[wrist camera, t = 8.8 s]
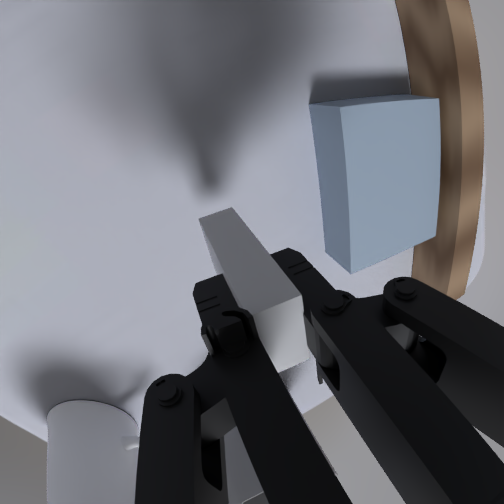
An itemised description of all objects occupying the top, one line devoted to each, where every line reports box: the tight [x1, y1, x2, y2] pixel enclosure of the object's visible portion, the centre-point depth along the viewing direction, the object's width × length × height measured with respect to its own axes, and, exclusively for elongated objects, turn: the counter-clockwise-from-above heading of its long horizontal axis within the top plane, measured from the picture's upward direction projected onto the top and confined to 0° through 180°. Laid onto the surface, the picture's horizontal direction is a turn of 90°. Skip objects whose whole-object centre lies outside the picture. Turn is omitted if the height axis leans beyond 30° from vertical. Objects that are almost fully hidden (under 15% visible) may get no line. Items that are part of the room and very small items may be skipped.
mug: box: [47, 400, 140, 504], centre depth 17 cm, size 12×8×12 cm
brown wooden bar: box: [395, 0, 484, 300], centre depth 19 cm, size 24×3×4 cm, turn 12°
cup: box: [224, 388, 337, 504], centre depth 22 cm, size 8×8×10 cm
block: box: [309, 94, 441, 274], centre depth 19 cm, size 10×8×4 cm
